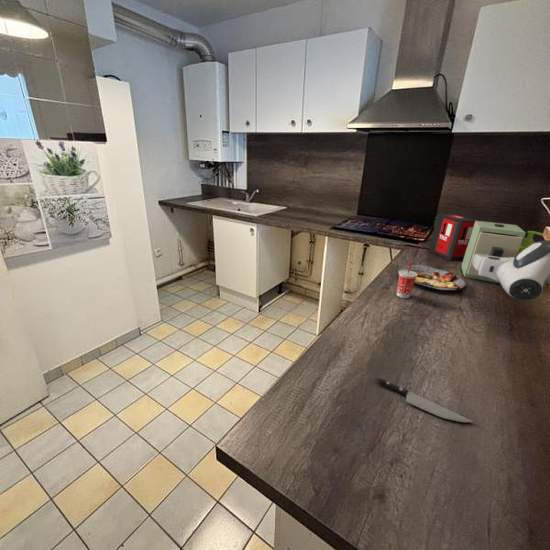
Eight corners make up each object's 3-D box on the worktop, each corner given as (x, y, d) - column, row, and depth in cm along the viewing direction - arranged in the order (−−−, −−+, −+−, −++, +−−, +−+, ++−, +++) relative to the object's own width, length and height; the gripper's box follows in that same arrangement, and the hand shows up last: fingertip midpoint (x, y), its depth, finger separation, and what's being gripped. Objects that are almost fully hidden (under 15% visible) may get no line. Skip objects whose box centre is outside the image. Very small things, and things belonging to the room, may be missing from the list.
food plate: (467, 280, 123) (470, 272, 121) (460, 300, 105) (463, 292, 104) (405, 265, 136) (407, 258, 135) (390, 281, 119) (392, 273, 117)
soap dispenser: (524, 279, 126) (542, 234, 118) (505, 274, 130) (521, 230, 123) (527, 276, 129) (545, 232, 121) (509, 271, 134) (525, 228, 126)
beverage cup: (413, 294, 108) (422, 259, 103) (410, 300, 104) (419, 264, 98) (396, 290, 112) (403, 255, 106) (392, 296, 107) (400, 260, 101)
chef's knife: (472, 434, 55) (473, 422, 57) (474, 430, 54) (475, 418, 57) (372, 387, 65) (376, 379, 67) (373, 384, 64) (377, 375, 66)
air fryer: (505, 284, 120) (526, 231, 111) (464, 276, 126) (480, 225, 117) (499, 272, 132) (517, 223, 123) (461, 266, 138) (475, 219, 129)
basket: (508, 284, 115) (525, 240, 108) (468, 277, 121) (482, 235, 114) (499, 270, 130) (514, 230, 122) (464, 264, 135) (476, 226, 128)
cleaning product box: (465, 260, 146) (478, 220, 139) (450, 260, 145) (462, 221, 137) (442, 249, 161) (452, 213, 153) (428, 250, 160) (438, 213, 152)
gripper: (557, 268, 89) (542, 255, 100) (479, 256, 97) (473, 246, 109) (548, 287, 92) (535, 272, 103) (473, 274, 100) (468, 261, 111)
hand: (503, 258), depth 106 cm, fingers open, 8 cm apart
